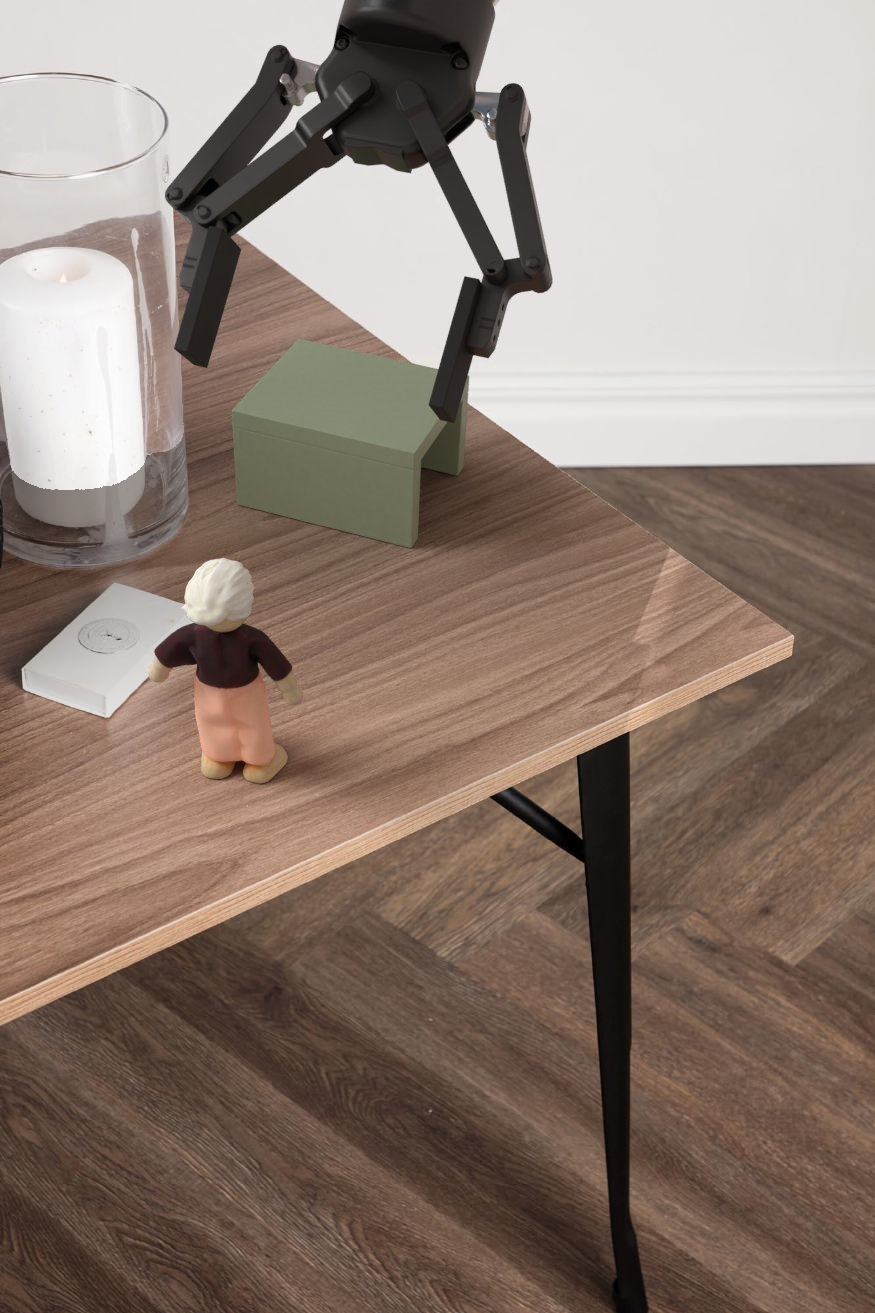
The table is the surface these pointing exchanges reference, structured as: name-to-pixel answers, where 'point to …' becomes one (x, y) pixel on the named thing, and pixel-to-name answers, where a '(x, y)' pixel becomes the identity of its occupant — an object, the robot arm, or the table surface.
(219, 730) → the grandmother figurine
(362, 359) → the shelf
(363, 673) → the table surface
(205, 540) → the table surface
